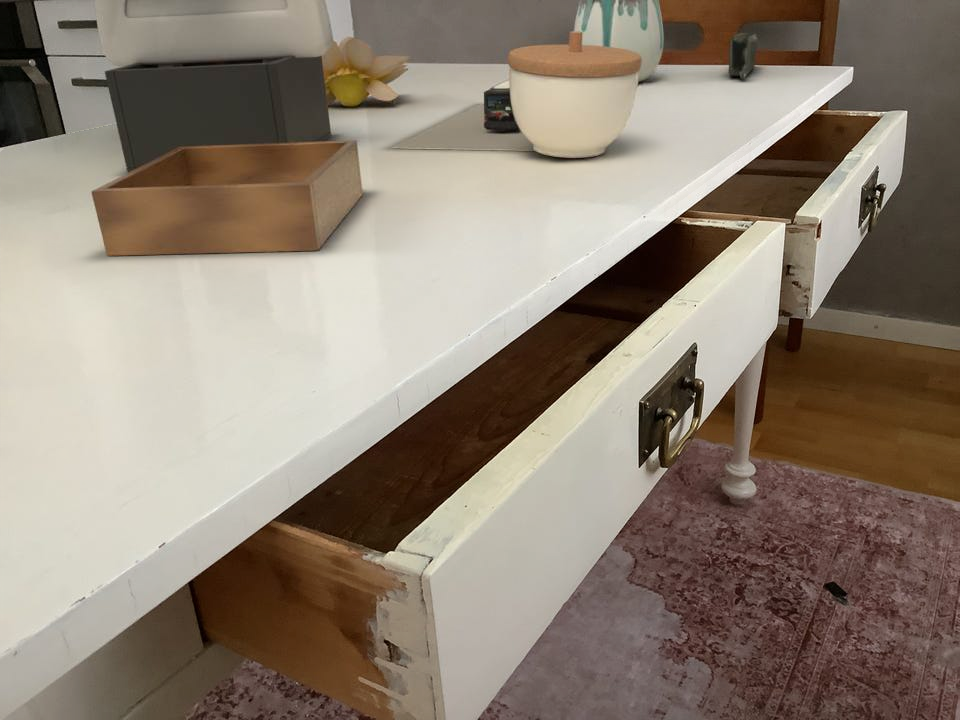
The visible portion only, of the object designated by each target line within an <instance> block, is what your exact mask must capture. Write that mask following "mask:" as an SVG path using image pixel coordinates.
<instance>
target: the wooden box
mask: <svg viewBox="0 0 960 720" xmlns="http://www.w3.org/2000/svg"><path fill="white" fill-rule="evenodd" d="M358 149H359V148H358V140H356V139H354V140H353V139H352V140H351V139H349V140H325V141H320V142H293V143H266V144H239V145H212V146H185V147H179V148H176V149H174V150H172V151H171V152H169V153H167V154H165V155H163V156H161V157H159V158H157V159H155V160H153V161H151V162H149V163H147V164H145V165H143V166H141V167H139V168H137V169H135V170H133V171H131V172H129V173H128V172H126V173H125V174H122V175H121V176H119V177H117V178H115V179H113V180H110V181H109V182H107V183H105V184H103V185H101V186H100V187H97V188H95V189H93V190H91V196H92V201H93V205H94V208H95V213H96V218H97V221H98V225H99V228H100V229H99V230H100V233H101V237H102V241H103V244H104V248H105V254H106V256H107V257H109V256H110V257H111V256H112V257H113V256H115V257H116V256H151V255H152V256H153V255H155V256H156V255H194V254H195V255H196V254H231V253H232V254H234V253H237V254H238V253H272V252H274V253H275V252H276V253H277V252H315V251H316V252H317V251H320V249H321V247H322V246H323V245H324V244H325V242H326V241H327V240H328V239H329V237H330V236H331V235H332V234H333V232H334V231H335V230H336V229H337V227H338V226H339V225H341V222H342V221H343V220H344V219H345V218H346V217H347V215H348V214H349V213H350V211H351V210H352V209H353V207H354V206H355V205H357V202H358V201H359V200H360V199H361V197H362V196H363V195H364V194H363V185H362V174H361V166H360V158H359V150H358Z"/></svg>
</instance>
